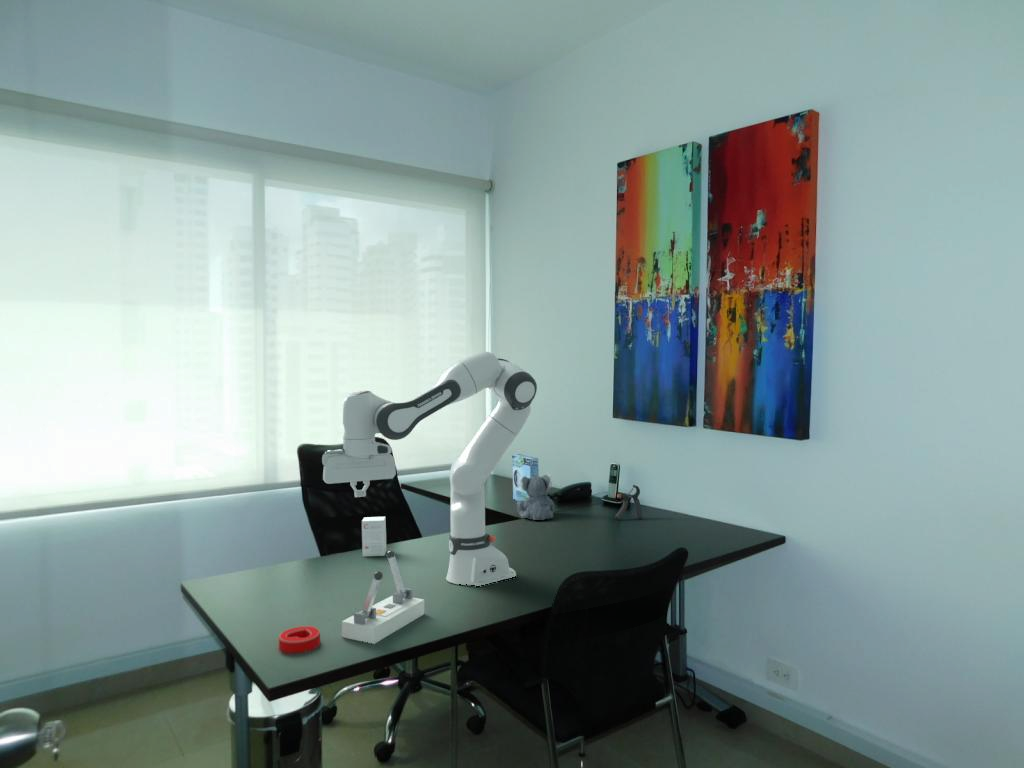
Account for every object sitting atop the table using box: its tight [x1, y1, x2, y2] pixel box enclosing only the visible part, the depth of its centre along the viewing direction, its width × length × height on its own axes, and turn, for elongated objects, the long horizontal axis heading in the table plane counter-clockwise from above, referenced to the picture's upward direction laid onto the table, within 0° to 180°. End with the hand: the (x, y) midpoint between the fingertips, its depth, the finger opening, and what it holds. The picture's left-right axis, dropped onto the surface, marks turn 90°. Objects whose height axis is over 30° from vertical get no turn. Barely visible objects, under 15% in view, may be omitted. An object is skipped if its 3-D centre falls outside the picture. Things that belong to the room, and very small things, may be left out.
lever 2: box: [386, 550, 409, 599], centre depth 184 cm, size 3×2×13 cm
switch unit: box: [341, 587, 425, 645], centre depth 177 cm, size 22×10×6 cm, turn 153°
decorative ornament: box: [278, 626, 321, 654], centre depth 164 cm, size 10×10×3 cm
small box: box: [361, 516, 387, 557], centre depth 244 cm, size 8×6×13 cm
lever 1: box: [359, 570, 384, 619], centre depth 168 cm, size 3×2×13 cm
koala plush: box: [516, 473, 556, 521], centre depth 300 cm, size 17×18×20 cm
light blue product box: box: [511, 453, 540, 502], centre depth 334 cm, size 20×5×23 cm, turn 27°
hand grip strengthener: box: [614, 484, 643, 520], centre depth 294 cm, size 2×12×15 cm, turn 101°
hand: (360, 496), depth 191 cm, fingers closed
